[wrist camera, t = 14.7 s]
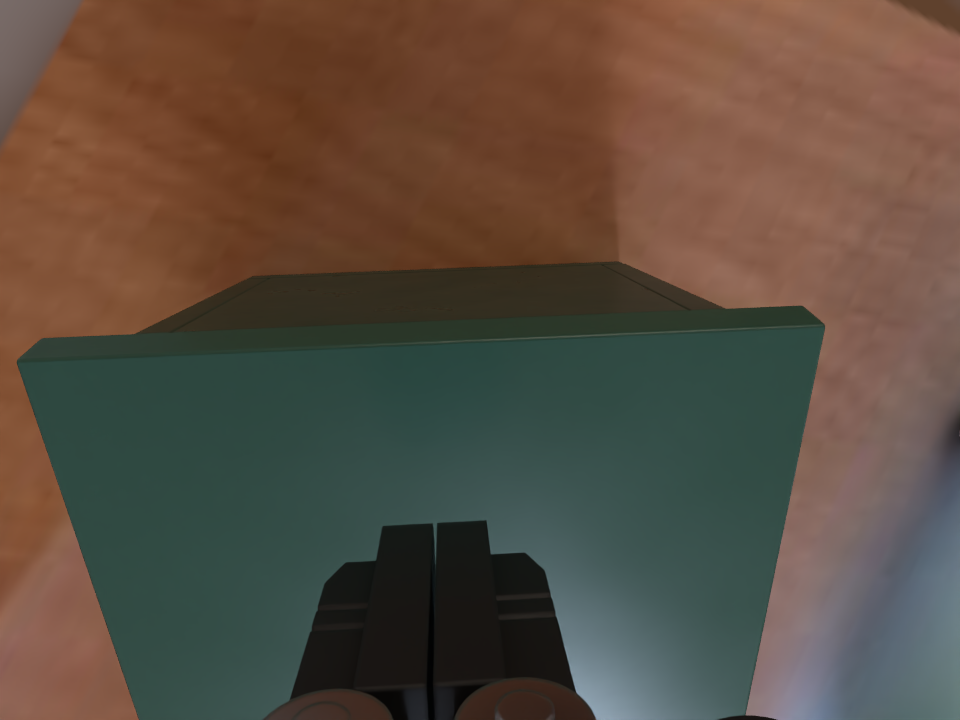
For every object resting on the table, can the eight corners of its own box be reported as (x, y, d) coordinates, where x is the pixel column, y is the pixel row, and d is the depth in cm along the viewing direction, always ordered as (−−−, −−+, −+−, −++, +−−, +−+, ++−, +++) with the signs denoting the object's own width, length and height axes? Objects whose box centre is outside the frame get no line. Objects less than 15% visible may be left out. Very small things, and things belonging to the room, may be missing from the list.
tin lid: (40, 337, 12) (14, 360, 11) (803, 304, 12) (827, 324, 12) (209, 862, 18) (199, 899, 18) (704, 826, 19) (716, 861, 18)
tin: (250, 275, 25) (130, 333, 15) (620, 261, 25) (727, 308, 16) (289, 631, 28) (210, 863, 18) (616, 612, 28) (703, 827, 19)
